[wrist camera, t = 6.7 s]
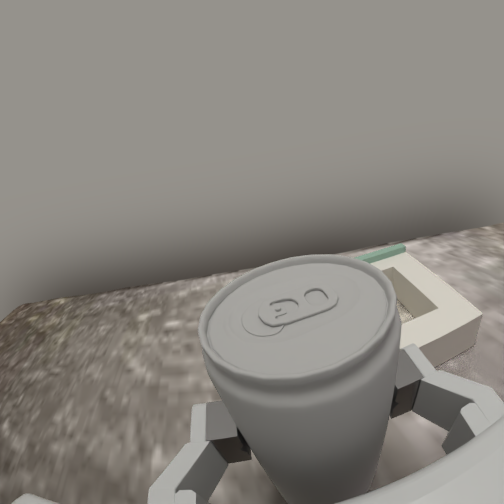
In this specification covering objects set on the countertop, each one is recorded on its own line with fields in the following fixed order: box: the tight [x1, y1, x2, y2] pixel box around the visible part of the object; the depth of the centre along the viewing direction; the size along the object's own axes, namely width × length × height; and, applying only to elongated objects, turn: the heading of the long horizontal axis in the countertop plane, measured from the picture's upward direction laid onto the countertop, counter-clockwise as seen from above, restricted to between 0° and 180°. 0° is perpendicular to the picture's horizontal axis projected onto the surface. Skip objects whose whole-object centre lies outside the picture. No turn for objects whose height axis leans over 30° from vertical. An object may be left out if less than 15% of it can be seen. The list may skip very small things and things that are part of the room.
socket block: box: [355, 243, 483, 368], centre depth 21 cm, size 12×12×4 cm
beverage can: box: [198, 254, 401, 504], centre depth 9 cm, size 5×5×12 cm
